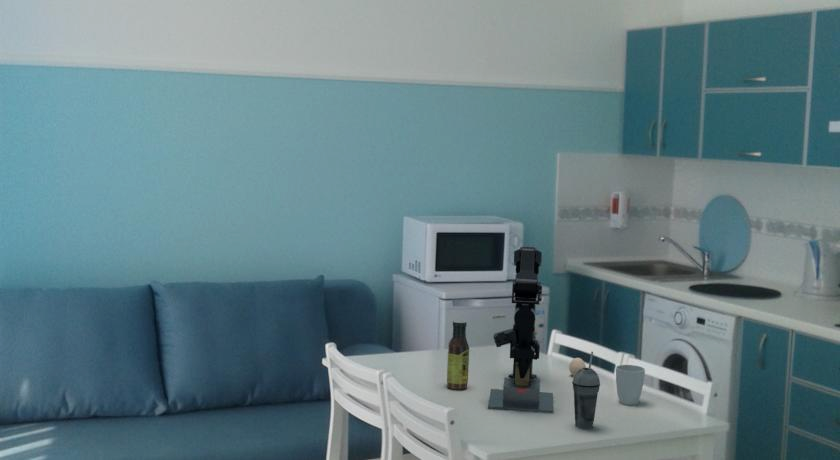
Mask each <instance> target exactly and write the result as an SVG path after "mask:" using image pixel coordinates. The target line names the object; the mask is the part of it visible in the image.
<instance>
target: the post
mask: <svg viewBox="0 0 840 460" xmlns="http://www.w3.org/2000/svg"><path fill="white" fill-rule="evenodd" d="M529 375H530V366H529V369H528V371H527V373H526V375H525V377H524V378H520V374H519V368H518V362H516V366H515V385H525V386H529Z"/></svg>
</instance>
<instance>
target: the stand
mask: <svg viewBox="0 0 840 460" xmlns="http://www.w3.org/2000/svg"><path fill="white" fill-rule="evenodd" d="M540 382H541V380H540V379H537V378H536V379H534V378H531V379H529V386H525V385H515V378H512V377H504V381H503V388H502V389H500V388H490V391H489V392H490V393H489V397H488V402H487V410H494V411H508V412H509V411H511V412H529V413H541V414H543V413H544V414H554V413H555V411H554V410H555V408H554V407H555V405H554V393H553V392H549V391H548V392H545V391H540V390H541V383H540Z"/></svg>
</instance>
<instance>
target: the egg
mask: <svg viewBox="0 0 840 460" xmlns="http://www.w3.org/2000/svg"><path fill="white" fill-rule="evenodd" d="M568 367H569V368H568V369H569V372H570V374H571V375H572V376H574V375H575V374H576V372H577V371H578V370H580V369H582V368H587V367H586V363H585V361H584V360H583V359H582V358H580V357H575V358H573V359H571V362H570V364H569V366H568Z"/></svg>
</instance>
